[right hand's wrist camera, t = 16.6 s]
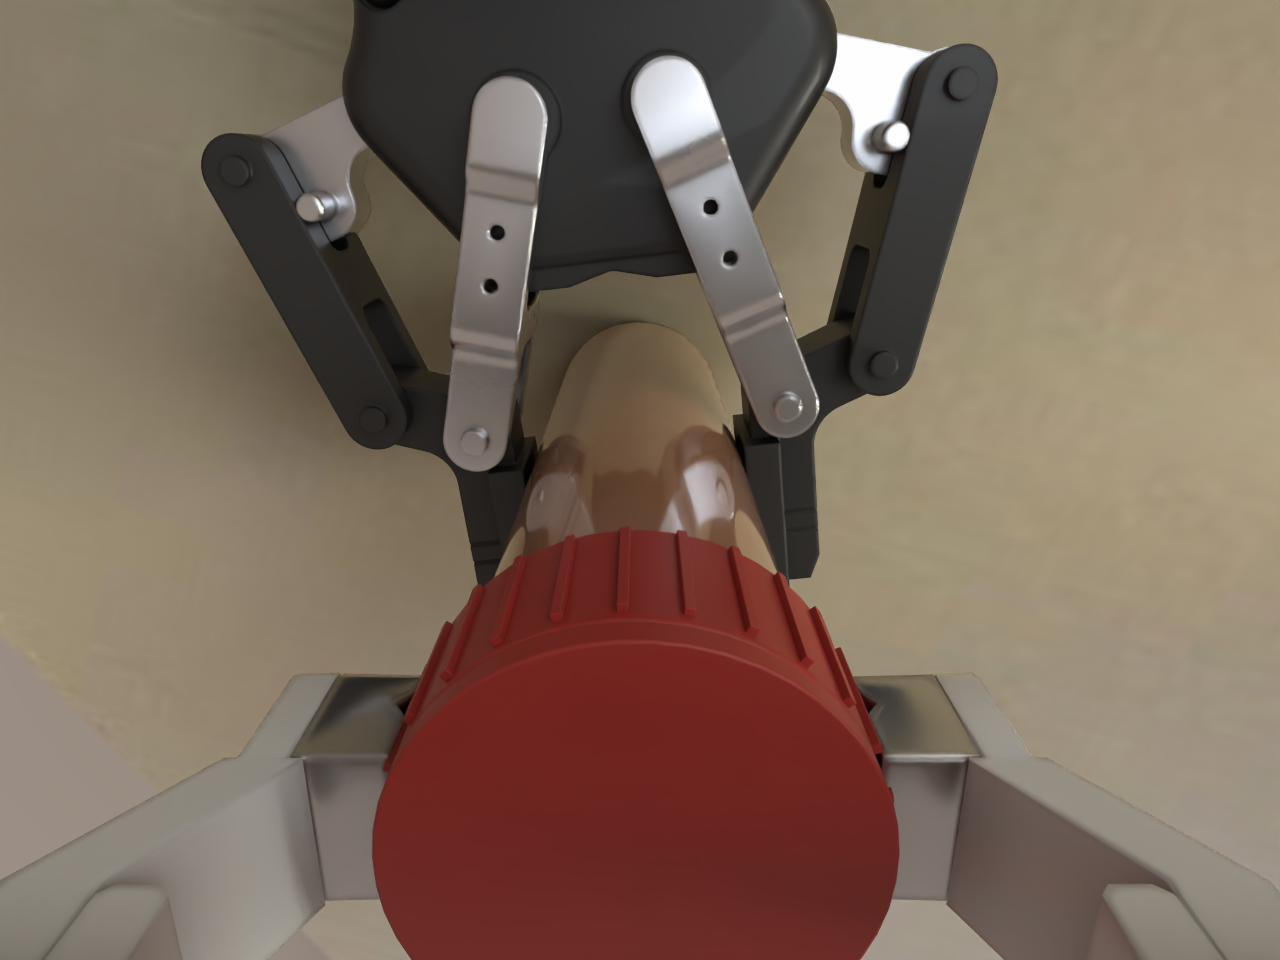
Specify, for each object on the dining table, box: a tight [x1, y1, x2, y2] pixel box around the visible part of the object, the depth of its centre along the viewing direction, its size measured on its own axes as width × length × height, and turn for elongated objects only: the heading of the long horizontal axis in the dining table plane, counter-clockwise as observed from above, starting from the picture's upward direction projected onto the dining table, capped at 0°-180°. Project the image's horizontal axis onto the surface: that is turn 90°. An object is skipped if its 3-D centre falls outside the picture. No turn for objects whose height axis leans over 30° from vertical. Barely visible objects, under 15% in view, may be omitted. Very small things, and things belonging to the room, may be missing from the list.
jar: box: [494, 322, 779, 578], centre depth 17 cm, size 4×4×17 cm
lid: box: [372, 526, 900, 960], centre depth 9 cm, size 5×5×2 cm
